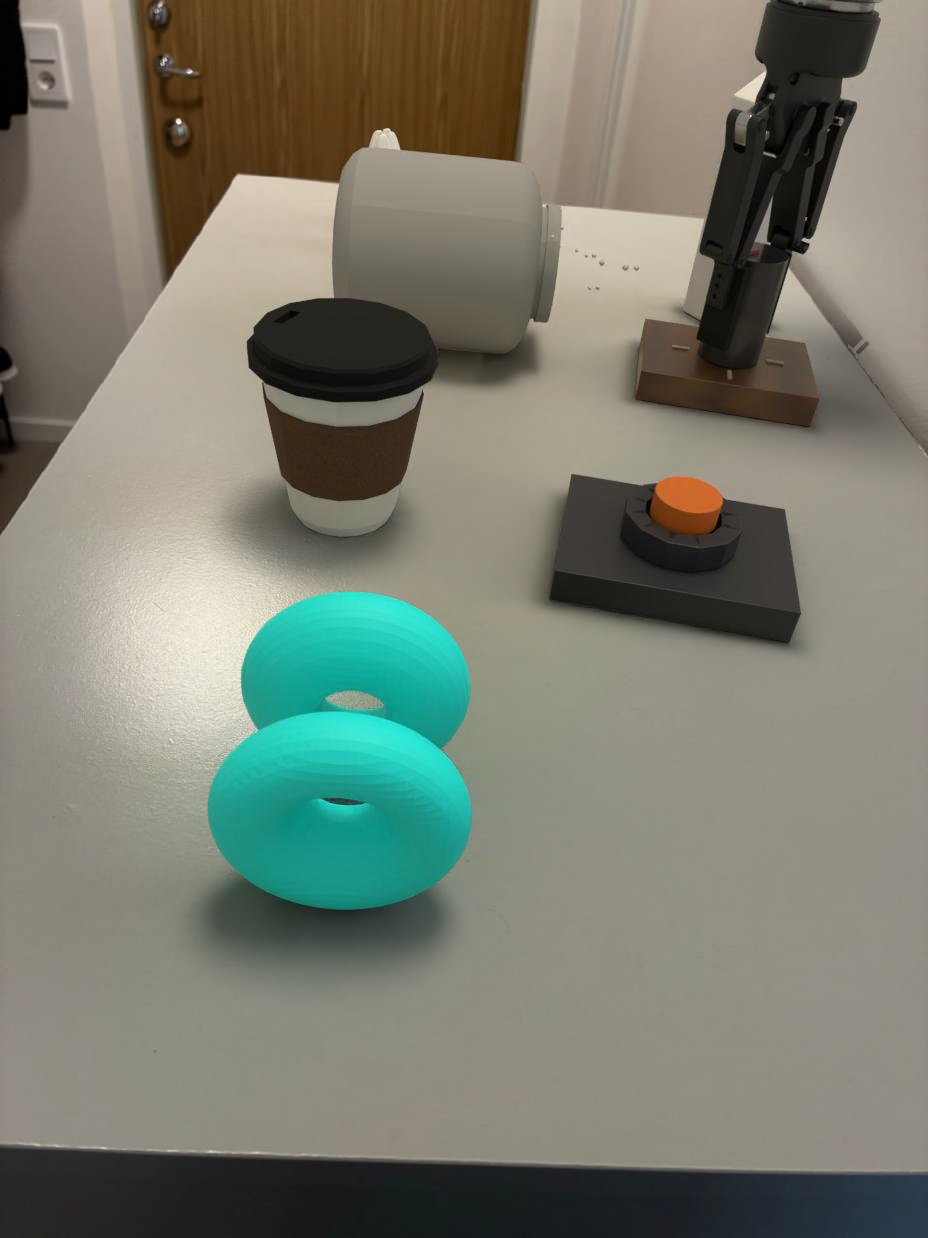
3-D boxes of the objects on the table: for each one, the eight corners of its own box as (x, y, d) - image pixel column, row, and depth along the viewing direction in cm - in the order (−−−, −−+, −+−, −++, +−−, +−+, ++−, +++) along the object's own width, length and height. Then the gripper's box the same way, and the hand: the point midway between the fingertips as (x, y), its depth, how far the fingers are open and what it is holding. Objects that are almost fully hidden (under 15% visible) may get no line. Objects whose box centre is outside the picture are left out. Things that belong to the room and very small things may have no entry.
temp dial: (721, 337, 82) (749, 232, 76) (769, 359, 79) (802, 252, 73) (685, 350, 79) (711, 242, 73) (734, 373, 76) (766, 263, 70)
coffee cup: (222, 529, 58) (204, 344, 51) (309, 450, 66) (305, 280, 59) (383, 580, 56) (390, 393, 48) (453, 491, 64) (469, 319, 56)
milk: (722, 335, 89) (794, 67, 74) (681, 310, 93) (741, 50, 78) (770, 326, 91) (848, 65, 77) (727, 302, 95) (794, 49, 81)
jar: (376, 223, 90) (645, 223, 85) (362, 378, 89) (632, 386, 84) (307, 108, 71) (647, 99, 66) (290, 302, 71) (630, 307, 66)
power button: (714, 506, 58) (722, 481, 57) (716, 542, 55) (724, 517, 54) (650, 495, 59) (656, 471, 58) (648, 531, 56) (654, 505, 55)
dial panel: (797, 369, 84) (806, 340, 82) (809, 426, 76) (820, 396, 74) (639, 344, 85) (645, 316, 83) (635, 399, 77) (641, 368, 75)
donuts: (212, 918, 38) (186, 750, 32) (254, 734, 46) (240, 569, 39) (460, 929, 39) (484, 766, 32) (460, 746, 46) (480, 585, 40)
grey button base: (775, 536, 63) (793, 485, 60) (789, 642, 55) (811, 587, 52) (566, 501, 64) (575, 449, 62) (548, 599, 56) (559, 544, 53)
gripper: (802, 15, 56) (704, 380, 71) (940, 6, 66) (829, 328, 81) (699, -7, 60) (627, 344, 75) (845, -12, 70) (756, 298, 85)
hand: (732, 335), depth 78 cm, fingers closed on temp dial, 5 cm apart
